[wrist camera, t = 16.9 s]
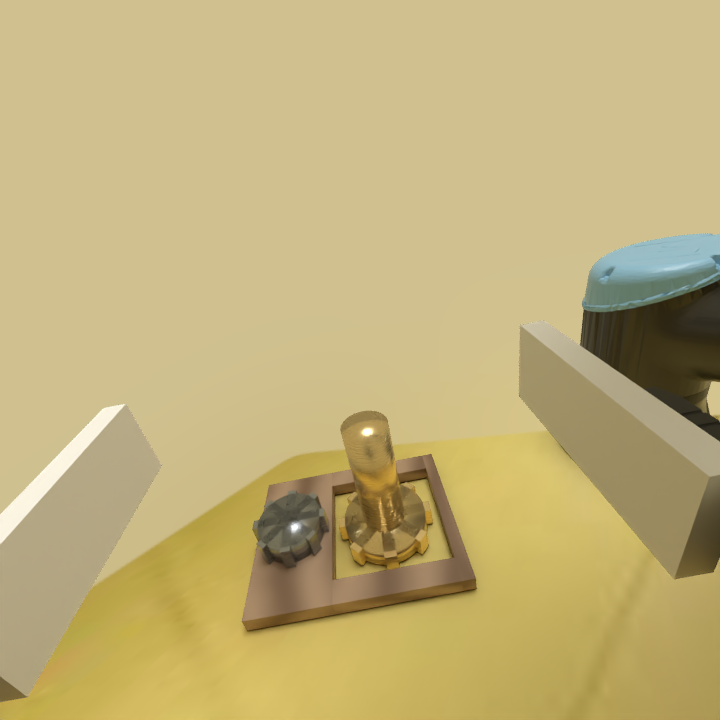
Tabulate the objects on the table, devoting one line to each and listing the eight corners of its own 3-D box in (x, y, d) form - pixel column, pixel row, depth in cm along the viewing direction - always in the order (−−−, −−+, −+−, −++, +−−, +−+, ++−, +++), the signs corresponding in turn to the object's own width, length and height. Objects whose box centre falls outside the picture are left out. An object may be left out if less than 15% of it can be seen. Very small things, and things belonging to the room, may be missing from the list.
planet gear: (421, 484, 44) (406, 387, 38) (443, 560, 36) (429, 451, 29) (341, 499, 44) (314, 405, 38) (344, 579, 36) (308, 474, 29)
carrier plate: (432, 462, 47) (431, 454, 46) (476, 588, 33) (475, 578, 32) (272, 493, 47) (269, 485, 47) (247, 630, 33) (241, 621, 32)
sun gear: (329, 499, 43) (324, 484, 42) (329, 560, 36) (323, 544, 35) (266, 511, 43) (259, 496, 42) (254, 574, 36) (245, 559, 35)
